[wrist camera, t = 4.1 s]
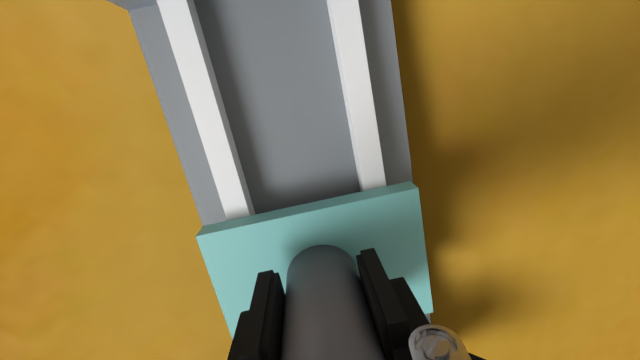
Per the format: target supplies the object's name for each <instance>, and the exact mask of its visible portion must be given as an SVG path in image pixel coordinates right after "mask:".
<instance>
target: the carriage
mask: <svg viewBox="0 0 640 360" xmlns="http://www.w3.org/2000/svg"><path fill="white" fill-rule="evenodd" d="M196 239H197V242H198V245H199V247H200V250H201V253H202V256H203V258H204V261H205V264H206V267H207V270H208V272H209V275H210V278H211V281H212V284H213V286H214V289H215V292H216V295H217V298H218V300H219V303H220V306H221V309H222V311H223V314H224V317H225V320H226V323H227V325H228V328H229V331H230V334H231V337H232V339H233V337H234V334H235V330H236V327H237V323H238V319H239V316H240V313H241V312H242V311H247V310H249V308H250V304H251V300H252V296H253V292H254V287H255V283H256V279H257V275H258V273H259V272H264V271H268V270H273V271H274V273H277V272H278V273H279V275H280V278H281V282H282V285H283V289H284V292H285V304H284V317H283V330H282V343H281V356H280V360H386V358H385V355H384V352H383V349H382V346H381V343H380V339H379V336H378V333H377V330H376V327H375V324H374V321H373V317H372V314H371V311H370V308H369V305H368V302H367V299H366V296H365V292H364V289H363V286H362V283H361V280H360V275H359V270H358V265H357V260H356V255H360V251H361V250H365V249H370V248H374V249H375V251H376V253H377V255H378V257H379V259H380V261H381V263H382V266H383V268H384V270H385V272H386V274H387V276H388V278H389V279H394V278H399V277H404V279H405V280H406V282H407V284H408V285H409V287H410V289H411V291H412V293H413V294H414V296H415V298H416V300H417V301H418V303H419V305H420V307H421V309H422V310H423V312H424V314H427V313H432V312H433V304H432V296H431V288H430V279H429V271H428V263H427V254H426V246H425V238H424V229H423V221H422V213H421V205H420V196H419V188H418V187H417V186H415V185H414V184H413V183H412V182H410V181H408V182H403V183H399V184H394V185H389V186H385V187H380V188H376V189H371V190H366V191H362V192H357V193H352V194H348V195H343V196H339V197H334V198H329V199H325V200H320V201H316V202H311V203H306V204H302V205H297V206H293V207H288V208H283V209H279V210H274V211H269V212H265V213H260V214H256V215H251V216H246V217H242V218H237V219H233V220H228V221H223V222H219V223H214V224H209V225H205V226H203V227H202V228H201V230H200V231H199V232H198V234H197V235H196Z"/></svg>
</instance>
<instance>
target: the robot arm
mask: <svg viewBox="0 0 640 360" xmlns="http://www.w3.org/2000/svg"><path fill="white" fill-rule="evenodd" d="M356 260H357V265H358V270H359V275H360V280H361V283H362V286H363V289H364V292H365V296H366V299H367V302H368V305H369V308H370V311H371V314H372V317H373V321H374V324H375V327H376V330H377V333H378V336H379V339H380V343H381V346H382V349H383V352H384V355H385V358H386V360H485V359H483V358H480V357H478V356H475V355H473V354H470V353H468V352H467V350H466V348H465V346H464V344H463V342H462V340H461V339H460V337H459V336H458V335H457V334H456V333H455V332H454V331H452V330H451V329H449V328H447V327H445V326H441V325H436V324H430V323H429V321H428V319H427V318H426V316H425V314H424V312H423V310H422V309H421V307H420V305H419V303H418V301H417V300H416V298H415V296H414V294H413V293H412V291H411V289H410V287H409V285H408V284H407V282H406V280H405V279H404V277H399V278H394V279H389V278H388V276H387V274H386V272H385V270H384V268H383V266H382V263H381V261H380V259H379V257H378V255H377V253H376V251H375V249H374V248H370V249H365V250H361V251H360V255H356ZM284 304H285V292H284V289H283V285H282V282H281V278H280V275H279V273H278V272H277V273H274V271H273V270H268V271H264V272H259V273H258V275H257V279H256V283H255V287H254V292H253V296H252V300H251V304H250V308H249V310H247V311H242V312H241V313H240V316H239V319H238V323H237V327H236V330H235V334H234V337H233V341H232V345H231V348H230V352H229V356H228V359H227V360H280V356H281V343H282V330H283V317H284Z"/></svg>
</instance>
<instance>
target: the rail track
mask: <svg viewBox="0 0 640 360" xmlns="http://www.w3.org/2000/svg"><path fill="white" fill-rule="evenodd" d="M107 1H109V2H111V3H114V4H116V5H118V6H120V7H122V8H124V9H126V10H128V12H129V14H130V17H131V20H132V23H133V26H134V29H135V32H136V35H137V37H138V40H139V43H140V46H141V49H142V52H143V55H144V58H145V61H146V63H147V66H148V69H149V72H150V75H151V78H152V81H153V84H154V86H155V89H156V92H157V95H158V98H159V101H160V104H161V107H162V110H163V112H164V115H165V118H166V121H167V124H168V127H169V130H170V133H171V135H172V138H173V141H174V144H175V147H176V150H177V153H178V156H179V159H180V161H181V164H182V167H183V170H184V173H185V176H186V179H187V182H188V184H189V187H190V190H191V193H192V196H193V199H194V202H195V205H196V207H197V210H198V213H199V216H200V219H201V222H202V225H203V226H205V225H209V224H214V223H219V222H223V221H228V220H233V219H237V218H242V217H246V216H251V215H256V214H260V213H265V212H269V211H274V210H279V209H283V208H288V207H293V206H297V205H302V204H306V203H311V202H316V201H320V200H325V199H329V198H334V197H339V196H343V195H348V194H352V193H357V192H362V191H366V190H371V189H376V188H380V187H385V186H389V185H394V184H399V183H403V182H408V181H410V182H412V183H413V175H412V167H411V159H410V151H409V143H408V135H407V127H406V119H405V111H404V103H403V95H402V87H401V79H400V71H399V63H398V55H397V47H396V39H395V31H394V23H393V15H392V7H391V0H107ZM413 184H414V183H413ZM425 316H426V318H427V319H428V321H429V323H430V324H431V319H430V313H427V314H425Z"/></svg>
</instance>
